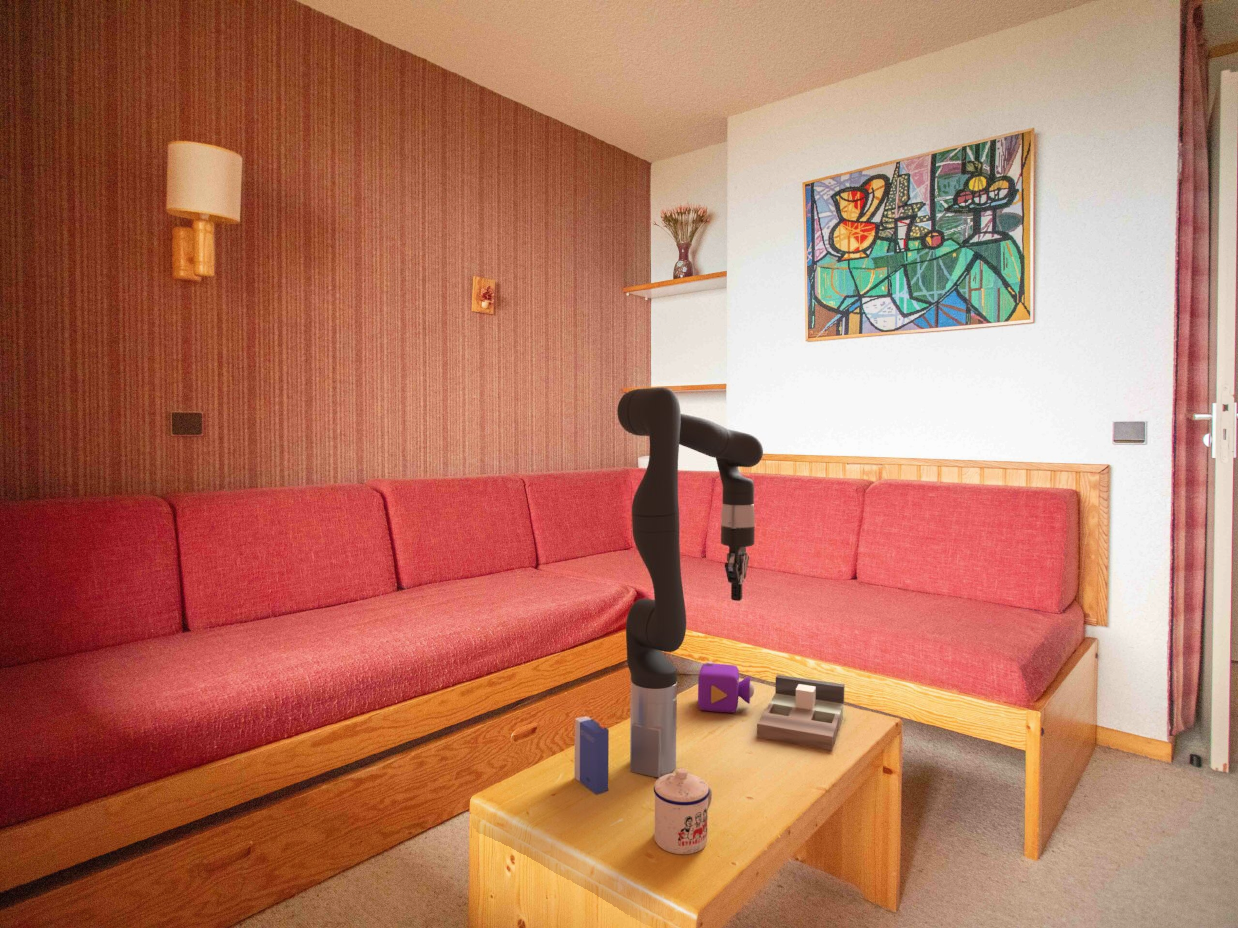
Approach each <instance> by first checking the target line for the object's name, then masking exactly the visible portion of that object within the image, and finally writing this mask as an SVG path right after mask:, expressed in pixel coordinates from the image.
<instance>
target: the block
mask: <svg viewBox="0 0 1238 928" xmlns="http://www.w3.org/2000/svg"><path fill="white" fill-rule="evenodd" d="M815 703H816V687H815V686H809V685H802V684H798V686H797V688H796V703H795V706H796V707H803V708H809V709H813V708H814V706H815Z"/></svg>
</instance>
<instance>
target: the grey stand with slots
mask: <svg viewBox="0 0 1238 928" xmlns="http://www.w3.org/2000/svg"><path fill="white" fill-rule="evenodd" d="M798 684H802V685H809V686H815V687H816V703H815V706H814V708H813V709H809V708H803V707H796V706H795V703H796V688H797V686H798ZM774 690H775V691H774V692H775V693H774V694H773V696H772V698H771V700H770V701H769V702H768V705H767V706H766V708H765V710H764V712H763V713H762V715H761V717H760V718H759V720H758V721H757V722H756V738H762V739H766V740H771V741H777V742H782V743H787V744H792V745H793V744H794V745H798V746H803V747H804V746H805V747H811V748H815V749H822V750H826V751H827V750H828V751H831V752H832V751H833V749H834V746H835V744H836V740H837V736H838V734H839V730H840V727H841V724H842V720H843V719H844V718H843V717H844V704H845V703H844V702H845V684H844V683H839V682H838V683H836V682H831V681H822V680H817V679H811V678H809V679H808V678H802V677H796V676H789V675H781V674H776V676H775V689H774Z"/></svg>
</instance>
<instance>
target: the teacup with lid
mask: <svg viewBox="0 0 1238 928" xmlns="http://www.w3.org/2000/svg"><path fill="white" fill-rule="evenodd" d="M653 793H654V840H655V842H656V844H657V845H658V847H660V848H661V849H662V850H664V851H666V852H668V853H671V854H675V855H676V854H677V855H691V854H695V853H698V852H699V851H701V850H703V849H704V848H705V847H706V845H707V843H708V818H709V817H708V812H709V809H710V806H711V803H712V799H713V790H712V787H710V786H709V785H708V783H707V782H706V781H705V780H704V779H703V778H701V777H699V776H697V775H695V774H692V773H688V770H687V769H686V768H683V767H681V768H677V769H676V770H675V772H670V773H668V774H665V775H662V776H661V777H660V778H658V779H657V780H656V781H655V782H654V785H653Z"/></svg>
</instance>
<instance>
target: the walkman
mask: <svg viewBox="0 0 1238 928" xmlns="http://www.w3.org/2000/svg"><path fill="white" fill-rule="evenodd" d="M574 721H575V722H574V779H575V780H577V781H578V782H579V783H581V784H582V785H583V786H584V787H586V788H587V789H588V790H589V791H591V792H592V793H594V795H596V796H597V795H600V794H602V793H605V792H607V791H608V792H609V753H610V752H609V748H610V747H609V745H610V743H609V740H610V736H609V735H610V733H609V731H610V729H608V728H607V727H606V725H604V724H602V723H599V722H598V721H596V720H594V719H592V718H591V717H589V716H588V715H585V716H581V717H575V718H574Z"/></svg>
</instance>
